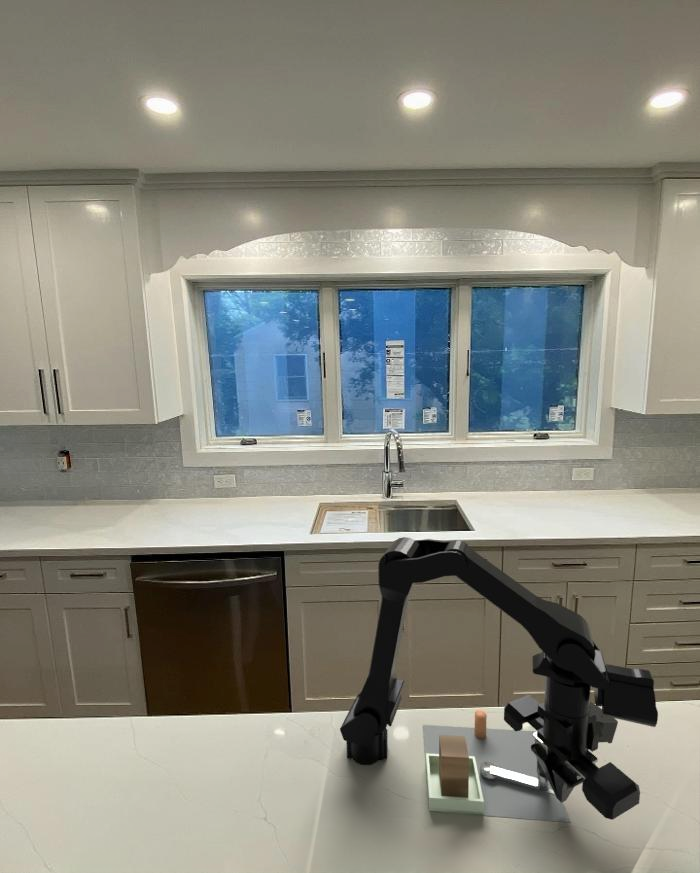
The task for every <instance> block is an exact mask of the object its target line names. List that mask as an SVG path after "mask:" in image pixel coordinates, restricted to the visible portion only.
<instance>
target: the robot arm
mask: <svg viewBox="0 0 700 873" xmlns="http://www.w3.org/2000/svg"><path fill="white" fill-rule="evenodd" d="M377 568H378V570H377V571H378V588H379V592H380V595H381V602H380V609H379V613H378V620H377V626H376V632H375V637H374V643H373V648H372V654H371V659H370V667H369V669H368V670H369V671H368V675H367V677H366V679H365V683H364V685H363V686H362V688H361V689H362V690H361V691H360V692H359V693H357V695H356V696H355V699H354V701H353V703H352V705H351V707H350V708H349V711H348V712H347V714H346V716H345V718H344V721H343V723H342V724H341V726H340V729H339V731H340V734H341V736H342V739H343V740H344V741H345V742H346V743H345V744H346V758H347V759H351V760H352V761H353V762H355V763H356V764H357V765H361V766H371V765H374V764H376V763H378V762H379V761H384V760H387V759H388V752H389V751H388V748H389V747H388V746H389V743H388V742H389V741H388V729H387V727H388V726H389V727H392V726H393V725H392V724H393V722H394V720H395V717H396V714H397V712H398V710H399V707H400V703H401V701H402V694H401V693H402V690H403V687H404V683H405V680H404V679H399V678H397V675H396V666H397V663H398V662H397V660H398V657H399V656H398V655H399V650H400V645H401V640H402V635H403V629H404V624H405V619H406V613H407V609H408V602H409V598H410V596H411V592H412V590H413V587H414V585H415V584H418V583H419V584H420V583H421V584H422V583H425V582H429V581H433V580H436V579H439V578H445V577H456V578H457V579H459V580H460V581H461V582H463V583H464V584H466V585H467V586H468V587H470V589H472V590H474V591H475V592H476V593H478V594H479V595H480V596H481V597H483V598H484V599H485V600H487V601H489V603H491V604H492V605H494V607H496V608H498V610H500V611H501V612H503V613H505V615H507V616H509V617H510V618H511V619H512V620H514V621H515V622H516V623H518V624H520V626H521V627H522V628H523V629H525V631H526V632H527V633H528V635H529V636H530V637H531V639H532V640H533V641H534V643H535V644H536V646H537V647H538V648H539V650H541V652H539V653H537V654H534V655H532V657H531V659H532V660H531V661H532V664H531V665H532V666H531V667H532V673H533V674H534V675H538V676H543V677H545V679H544V680H545V681H544V682H545V683H544V702H541V703H540V701H538V700H537V699H536V698H534V697H533V696H532V695H530V694H527V695H523V696H522V697H519V698H516V699H514V700H511V701H509V702H507V703H506V704H505V706H504V707H503V708H504V709H503V710H504V711H503V720H504V722H505V723H506V724H507V725H508V726H509V727H510V728H512V730H515V731H520V730H522V731H523V728H524V727H523V725H524V724H525V723H528V724H529V725H530V726H531V727H532V728H533V729H535V730H536V733H534V734H533V737H534V738H535V744H532V745H531V750H532V752H533V753H534V754H535V755H536V757H537V759H538V761H539V763H540V765H541V767H542V769H543V771H544V772H545V775H546V777H547V779H548V781H549V783H550V785H551V787H552V789H553V791H554V793H555V795H556V798H557V799H558V800H559V801H560V802H561V803H562V802H563V803H564V802H566V801H567V800H568V798H569V796H570V795H571V793H572V792H573V790H574V789H575V787H577V786H579V785H581V784H582V785H581V787H582V788H581V791H582V792H583V795H584V797H585V799H586V801H587V802H588V803H589V804H590V805H591V806H592V807H593V808H594V809H595V810H597V812H598V813H599V814H600V815H602V816H603V817H604V819H608V820H613V821H614V820H615V819H616V818H618V817H620V816H621V815H623V814H624V813H626V812H628V811H629V810H631V809H632V808H634V807H636V806H637V805H639V804H640V801H641V800H640V798H641V790H640V786H639V784H637V783H636V782H635V781H634V780H633V779H631V778H630V777H629V776H628V775H627V774H625V773H624V772H623V771H622V770H621V769H620V768H618V767H617V766H616V765H615V764H613V762H611V761H609V762H608V763H605V765H602V766H600V767H598V766H597V765H596V763H597V762H598V759H599V758H598V757H597V756H596V755H595V754H593V752H595V751H597V750H598V749H599V743H608V744H612V743H613V742H614V741H613V740H614V737H615V734H616V731H617V727H618V724H619V721H618V720H621V721H625V722H631V723H634V724H638V725H644V726H648V727H652V728H656V726H657V725H658V718H659V712H658V708H657V702H656V701H657V700H656V693H655V688H654V684H655V680H654V678H653V676H652V673H651V671H650V670H647V669H642V668H629V667H624V666H619V665H613V664H608V663H605V659H604V655H603V652H602V651H601V650H600V648H599V646H598V645H597V644H596V643H595V641H594V640H593V636H592V633H591V632H592V631H591V629H590V628H591V627H590V626H589V623H588V621H587V620H586V619H585V618H584V617H583V616H582V615H580V614H578V613H577V612H575V611H573V610H571V609H569V608H568V607H566V606H563V605H562V604H560V603H558V602H553V601H549V600H546V599H543V598H542V597H539V596H537V595H536V594H534V593H533V592H531V591H530V590H529V589H527V588H526V587H525V586H523V585H522V584H521V583H519V582H518V581H516V580H515V579H514V578H512V576H510V575H508V574H507V573H505V572H504V571H503V570H502V569H500V568H499V567H497V566H495V565H494V564H493V563H491V562H490V561H488V560H487V559H486V558H485V557H483V556H482V555H480V554H479V553H477V551H475V550H474V549H472V548H471V547H470V545H468V543H466V542H465V541H463V540H461V539H454V540H439V539H432V538H427V539H426V538H425V539H416V540H415V539H413V538H411V537H405V536H403V537H399V538H397V539H396V540H395V539H394V541H393V542H392V544H391V545H390V546H389V547H388V548H387V550H386V551H385V552H384V554H383V555H382V556H381V558H380V560H379V562H378V566H377ZM591 687H592V688H593V695H594V703H593V702H591Z"/></svg>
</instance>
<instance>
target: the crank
mask: <svg viewBox="0 0 700 873" xmlns="http://www.w3.org/2000/svg"><path fill="white" fill-rule="evenodd" d="M480 774H481V775H482V776H483V777H484V778H485V779H487V780H495V779H497V778H498V779H501V780H505V781H508V782H512V783H515V784H519V785H522V786H526V787H529V788H533V789H536V790H540V791H549V789H550V783H549V781H548V779H547V777H546V775H545V772H544V771H543V769H542V767H541V765H540V763H539V761H538V759H537V778H533V777H529V776H526V775H522V774H519V773H515V772H511V771H508V770H504V769H501V768H497V767H496V766H495V765H494V764H493V763H491V762H483V763H482V764H481V765H480Z"/></svg>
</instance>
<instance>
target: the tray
mask: <svg viewBox="0 0 700 873" xmlns="http://www.w3.org/2000/svg"><path fill="white" fill-rule="evenodd" d="M426 771H427V780H426V785H427V784H428V794H427V799H428V798H429V808H428V812H429V811H440V812H439V813H441V812H453V813H452V814H454V813H466V814H479V815H484V800H483V795H482V790H481V785H480V780H479V775H478V770H477V765H476V760H475V756H469V793H468V798H462V797H448V796H441V788H440V779H439V754H429V753H426V766H425V772H426ZM466 814H465V815H466ZM479 815H478V816H479Z"/></svg>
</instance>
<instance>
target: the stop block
mask: <svg viewBox="0 0 700 873" xmlns="http://www.w3.org/2000/svg"><path fill="white" fill-rule="evenodd" d="M439 779H440V788H441V796H448V797H462V798H468V793H469V755H468V750H467V744H466V739H465V736H452V735H439Z"/></svg>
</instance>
